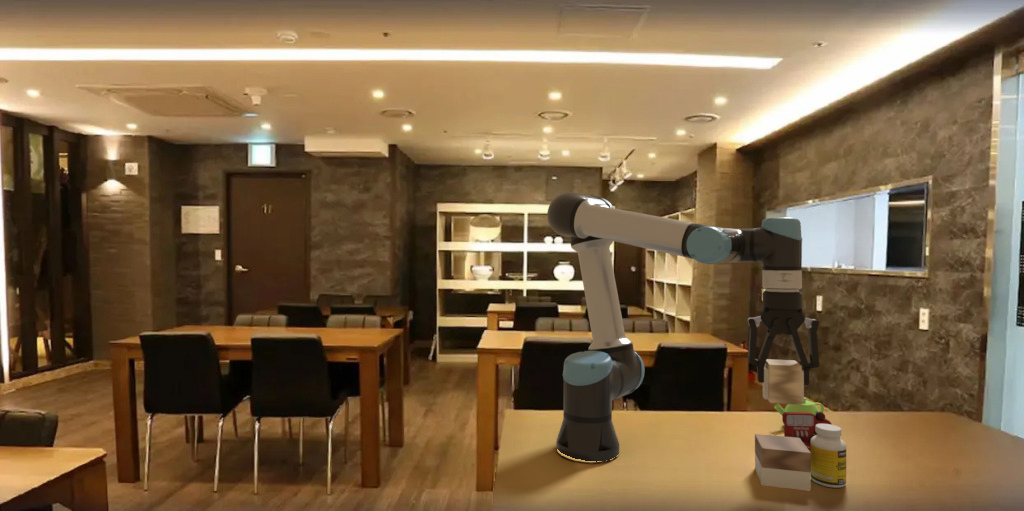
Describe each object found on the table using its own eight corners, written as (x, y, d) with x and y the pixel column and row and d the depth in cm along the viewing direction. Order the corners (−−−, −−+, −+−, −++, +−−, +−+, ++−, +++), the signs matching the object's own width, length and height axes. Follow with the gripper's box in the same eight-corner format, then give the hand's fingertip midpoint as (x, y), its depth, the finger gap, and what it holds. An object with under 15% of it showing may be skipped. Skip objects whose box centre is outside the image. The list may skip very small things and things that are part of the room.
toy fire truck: (845, 462, 120) (846, 417, 120) (790, 461, 121) (790, 416, 121) (829, 451, 127) (829, 408, 127) (777, 450, 128) (777, 407, 128)
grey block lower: (761, 486, 109) (761, 467, 109) (755, 469, 117) (755, 451, 117) (810, 492, 106) (810, 472, 106) (799, 474, 115) (799, 456, 115)
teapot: (832, 428, 143) (832, 397, 143) (819, 438, 136) (819, 406, 135) (788, 419, 152) (788, 390, 151) (773, 428, 144) (773, 397, 144)
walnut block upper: (762, 467, 108) (762, 448, 108) (754, 451, 117) (754, 433, 117) (810, 472, 106) (810, 452, 106) (799, 456, 115) (799, 437, 115)
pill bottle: (834, 491, 106) (834, 434, 105) (803, 479, 111) (803, 424, 111) (853, 485, 109) (853, 429, 108) (822, 473, 114) (822, 420, 114)
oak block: (769, 402, 109) (769, 364, 109) (765, 395, 115) (764, 359, 115) (801, 404, 108) (801, 366, 108) (795, 397, 113) (795, 360, 113)
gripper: (735, 290, 111) (736, 400, 111) (838, 292, 105) (839, 407, 105) (731, 288, 118) (732, 391, 118) (827, 289, 112) (828, 397, 112)
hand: (782, 398), depth 111 cm, fingers closed on oak block, 6 cm apart
